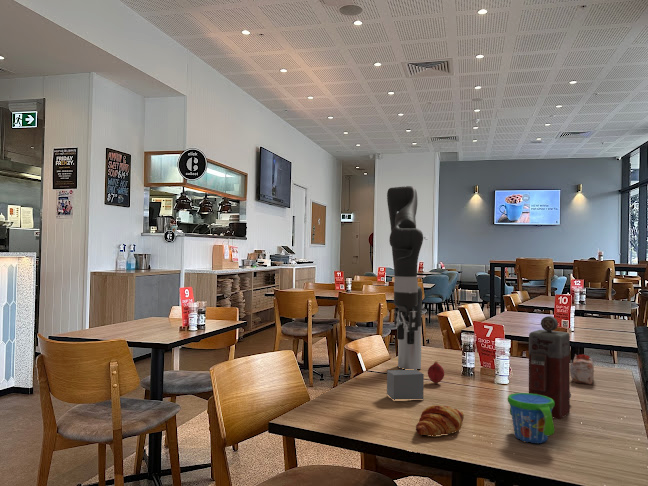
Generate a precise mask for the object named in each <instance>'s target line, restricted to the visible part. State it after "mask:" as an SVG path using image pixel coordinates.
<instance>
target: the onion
mask: <svg viewBox="0 0 648 486" xmlns="http://www.w3.org/2000/svg"><path fill="white" fill-rule="evenodd" d="M427 376H428V378H429V380H430V381H431V382H432V383H433V384H435V383H437V384H439V383H440V382H441V381H442V380H443V379H444V377H445V369H444V368H443V367H442V365H440V364H439V363H438V360H434V363H433V364H431V365H430V366H429V367H428V369H427Z"/></svg>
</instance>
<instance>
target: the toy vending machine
mask: <svg viewBox="0 0 648 486" xmlns="http://www.w3.org/2000/svg"><path fill="white" fill-rule="evenodd" d="M558 323H559V322H558V320H557V319H556V317H554V316H551V315H550V316H549V315H548V316H543V317H542V319H541V321H540V327H541V328H542V329H537V330H534V331H532V332H529V334H528V393H531V394H538V395H543V396H547V397H549V398H551V399H553V401H554V402H555V405H554V407H553V409H552V413H551V414H552V418H553V417H554V419H557V418H558V420H561V418H562V419H563V418H564V417H565V415H566V416H567V415H569V413H570V407H571V406H570V403H571V402H570V401H571V400H570V399H571V397H570V393H571V391H570V387H571V385H570V381H571V380H570V378H571V375H570V362H571V359H570V357H571V356H570V354H571V353H570V352H571V351H570V347H571V346H570V343H571V342H570V339H571V338H570V333H569V332H567V331H559V330H556V329H557V328H558V326H559V324H558Z"/></svg>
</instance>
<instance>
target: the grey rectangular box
mask: <svg viewBox="0 0 648 486" xmlns="http://www.w3.org/2000/svg"><path fill="white" fill-rule="evenodd" d="M424 376H425V375H424V373H422V372H421V371H419V370H416V369H414V370H403V369H393V370H392V369H390V370H389V369H388V370H387V371H386V395H387V394H388V395H389V396H390V397H391V398H392V399H394V400H395V399H423V400H424V391H425V390H424V383H425V382H424V381H425V380H424V379H425V378H424Z"/></svg>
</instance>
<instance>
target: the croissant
mask: <svg viewBox="0 0 648 486" xmlns="http://www.w3.org/2000/svg"><path fill="white" fill-rule="evenodd" d="M464 418H465V413H464V412H463V411H460V410H459V409H457V408H452V407H451V406H448V405H440V404H435V405H434V404H433V405H430V406H427V407H426V408H425V409H424V410H422V412H421V414H420V417H419V421H418V423H417V424H416V425H415V430H416V433H417V434H419V435H420V436H422V435H431V436H432V435H433V436H436V435H441V434H449V433H452V432H455V431H459V430H460V429H461V428H462V426H463V425H462V424H463V421H464ZM455 433H456V432H455ZM452 434H453V433H452Z"/></svg>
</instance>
